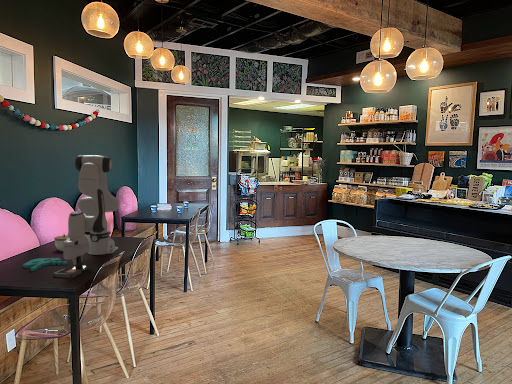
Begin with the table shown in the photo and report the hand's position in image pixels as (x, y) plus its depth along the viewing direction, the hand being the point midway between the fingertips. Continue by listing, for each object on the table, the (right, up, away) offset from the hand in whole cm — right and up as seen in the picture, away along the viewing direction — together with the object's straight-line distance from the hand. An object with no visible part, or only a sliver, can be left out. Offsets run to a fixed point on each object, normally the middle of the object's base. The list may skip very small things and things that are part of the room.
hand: (77, 263), depth 218 cm
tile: (-1, -5, -3) cm, 6 cm away
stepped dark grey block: (0, -3, +2) cm, 4 cm away
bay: (-1, -5, -8) cm, 10 cm away
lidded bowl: (-32, 0, +49) cm, 59 cm away
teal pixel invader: (-26, -3, +11) cm, 28 cm away
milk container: (-32, +2, +72) cm, 79 cm away
